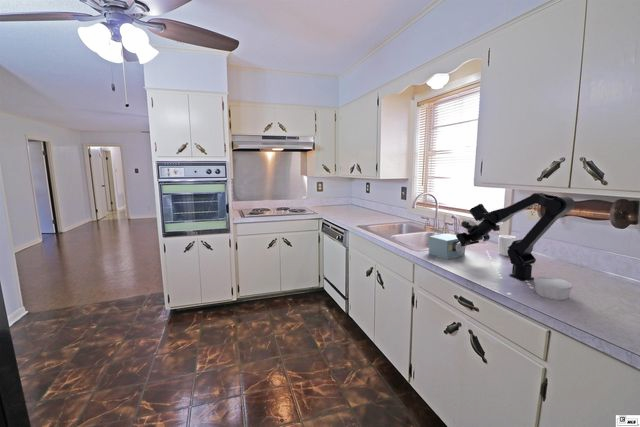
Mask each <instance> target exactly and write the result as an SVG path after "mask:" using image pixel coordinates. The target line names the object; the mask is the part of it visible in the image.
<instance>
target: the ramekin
mask: <svg viewBox="0 0 640 427" xmlns="http://www.w3.org/2000/svg"><path fill="white" fill-rule="evenodd" d="M533 278H534V279H533V281H534V290H535V292H536V293H537V294H538V296H541V297H543V298H546V299H550V300H556V301H564V300H566V299H568V298H569V297H570V293H571V290H572V289H573V284H572V283H571V282H569V281H567V280H565V279H564V280H563V279H561V278H556V277H550V276H536V277H533Z"/></svg>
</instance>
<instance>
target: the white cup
mask: <svg viewBox="0 0 640 427" xmlns="http://www.w3.org/2000/svg"><path fill="white" fill-rule="evenodd" d="M516 239H517V237H516V236H514V235H510V234H499V235H498V242H497V244H498V246H497V247H498V255H501V256H503V257H505V256H506V257H509V256H508V253H507V251H508V249H509V248H508V247H509V246H511V244H512V242H513V241H516Z"/></svg>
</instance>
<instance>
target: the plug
mask: <svg viewBox="0 0 640 427" xmlns="http://www.w3.org/2000/svg"><path fill="white" fill-rule="evenodd" d="M466 247H467V246H463V247H462V245H461V243H460V242H458V243H456V242H453V250H456V252H457V253H463V252H464V251H465V252H466Z"/></svg>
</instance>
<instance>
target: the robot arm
mask: <svg viewBox="0 0 640 427" xmlns="http://www.w3.org/2000/svg"><path fill="white" fill-rule="evenodd" d="M536 205H539V206H540V207H544V208H545V209H544V213H543V215H542V216H541V217H540V219H538V221H537V222H536V223H535V224H534V225H533V226H532V228H530V230H529V231H528V232H527V234H526V235H525V236H524V237H523V238H522V239H517V240H516V239H515V241H513V242H512V244H511V246H509V247H508V248H509V249H508V251H507V253H508V256H507V257H509V260H510V261H509V262H510V263H511V265H512V267H511V268H512V269H511V273H510V274H509V276H510V277H513V278H514V279H517V280H519V281H528V280H534V278H535V277H533V276H532V271H533V264H535V263H536V260H537V259H536V257H535V256H534V255H533V254H532V252H533V249H534V246H535V244H536V243H537V242H538V241H539V240H540V239H541V238H542V237H543V235H544V234H545V233H546V232H547V231H548V230H549V229H551V227H552V226H553V225H554V223H556V221H558V220H559V219H560V218H562V217H563V216H566V215H567V214H568V213H570V212H571V211H572V210H574V209H575V207H576V202H575V200H574V199H573V198H572V197H570V196H557V195H553V194H552V195H551V194H548V193H543V192H535V193H532V194H531V195H529V196H527V197H525V198H523V199H521V200H519V201H516V202H515V203H513V204H511V205H508V206H507V207H503V208H499V209H495V210H492V211H491V210H490V211H488V210H487V209H486V208H485V206H484V204H483V203H479V204H477V205H475V206H473V207H471V208H470V209H469V214H470V215H471V216H472V217H473V218H474V220H475V221H477V222H478V221H479V223H478V224H477V223H476V222H474V221H473V220H472V219H464V220H463V221H462V222H461V223H460V224H461V227H462V228H463V229H466V230H467V233H466V232H463V231H462V232H457V233H456V234H455V235H456V237H457V239H458V240H459V241H460V243H461V245H462V247H463V246H466V247H467V246H470V245H471V246H472V245H474V244H479V243H480V241H483V242H488V241H489V240H490V235H489V234H490V233H491V231H493V232H497V231H499V232H500V223H505V222H507V221H509V220H510V219H511V218H513V216H515V215H516V214H519V213H520V212H522V211H525V210H527V209H530V208H531V207H533V206H536Z"/></svg>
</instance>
